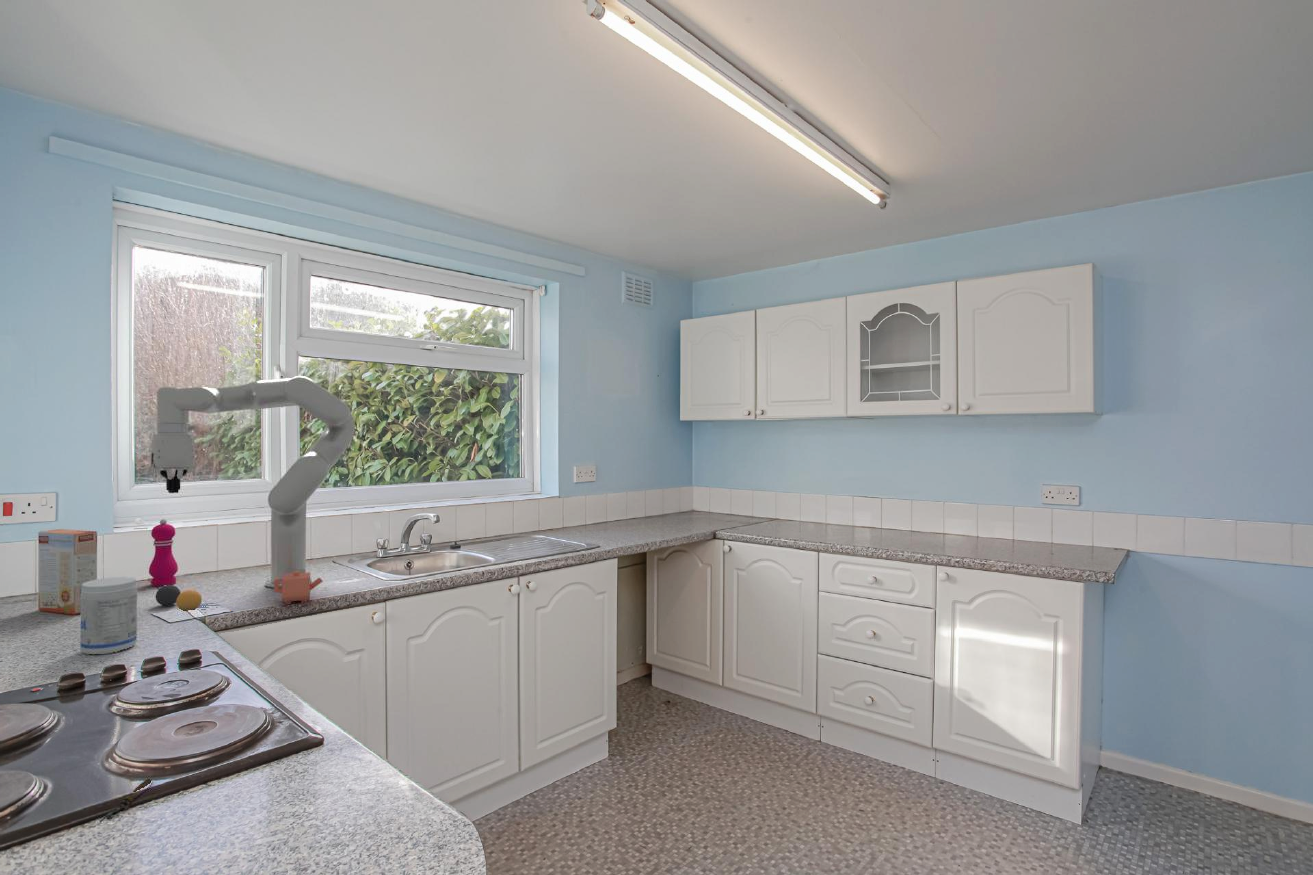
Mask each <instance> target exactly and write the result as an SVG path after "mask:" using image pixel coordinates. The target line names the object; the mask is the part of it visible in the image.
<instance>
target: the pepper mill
mask: <svg viewBox="0 0 1313 875" xmlns="http://www.w3.org/2000/svg"><path fill="white" fill-rule="evenodd" d="M150 534H151V537H152V539H153V546H154V548H155V550H154V556H153V558H152V561H150V562H151V563H150V565H149V567H148V574H149V575H150V576H151V577H152V578H151V579H150V586H151V585H152V586H151V587H163V585H171V584H172V585H175V584H176V583H177V577H176V576H175V575H176V573H178V571H179V566H178V562H177V561H176V558H174V554H173V550H172V547H173V545H174V539H173V538H174V537H175V536H176V529H175V527H174V526H173V525H171V524H169V523H168V521H167V519H165V518H162V519H161V520H159V524H157V525H154V527H153V528H152V529H151V531H150ZM174 583H175V584H174Z"/></svg>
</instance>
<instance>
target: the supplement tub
mask: <svg viewBox="0 0 1313 875" xmlns="http://www.w3.org/2000/svg"><path fill="white" fill-rule="evenodd" d="M137 586H138V585H137V579H136V578H135V577H130V576H128V577H127V576H116V577H115V576H114V577H103V578H97V580H92V581H88V582H85V583H83V584H82V590H81V613H80V651H81V653H83V654H84V655H89V654H93V655H92V656H95V655H94V654H101V655H108V654H113V652H115V653H119V652H121V651H120V650H123V649H126V650H128V649H127V648H129V647H131V648H133V647H134V646H135V645H136V643H137V640H138V639H137V638H138V637H137V632H138V587H137ZM133 645H134V646H133ZM132 646H133V647H132ZM129 649H130V648H129ZM118 651H119V652H118ZM123 651H124V650H123Z"/></svg>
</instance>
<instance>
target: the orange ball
mask: <svg viewBox="0 0 1313 875" xmlns="http://www.w3.org/2000/svg"><path fill="white" fill-rule="evenodd" d="M180 593H181V594H180V595H179V596H178V597H177V600H176V603H175V604H176V606H177V609H178V608H179V609H181V610H183V611H188V610H195V609H196V608H198V607H199V606H200V605H201V604H202V601H203V599H202V595H201V593H200V592H199V591H197V590H194V589H187V590H183V591H182V592H180Z"/></svg>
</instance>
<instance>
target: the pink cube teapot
mask: <svg viewBox="0 0 1313 875" xmlns="http://www.w3.org/2000/svg"><path fill="white" fill-rule="evenodd" d="M310 577H311V572H306V573H300V571H295V572H293V574H284V575H283V578H279V579H275V580H274V587H273V590H274V593H276V594H277V593H278V594H280V595H281V602H282V603H284V605H290V604H293V602H297V601H299V602H300V603H303V604H305V603H308V601H309V600H310V598H311V591H312V590H313V589H314V588H316V587H317V586H318V585H320V584H322V583H323V579H322V578H320V577H317V578H316V579H315V580H314V581H313V582H312V583H311V582H310ZM281 581H282V588H279V584H278V582H281Z"/></svg>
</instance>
